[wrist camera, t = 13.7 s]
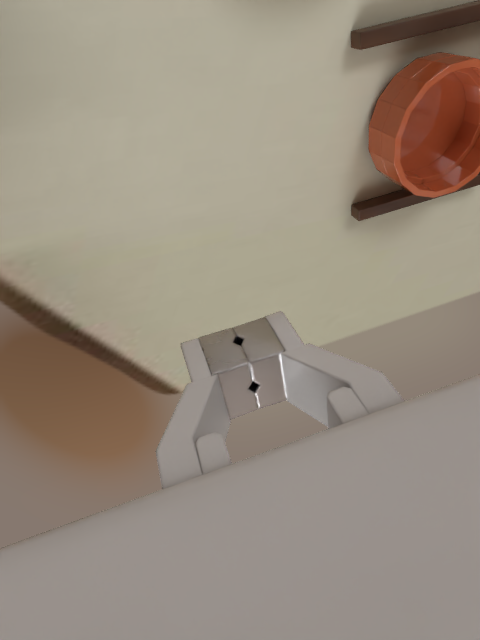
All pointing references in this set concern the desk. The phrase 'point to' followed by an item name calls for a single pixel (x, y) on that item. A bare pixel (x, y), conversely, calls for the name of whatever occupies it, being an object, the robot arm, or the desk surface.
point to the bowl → (429, 125)
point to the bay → (394, 33)
